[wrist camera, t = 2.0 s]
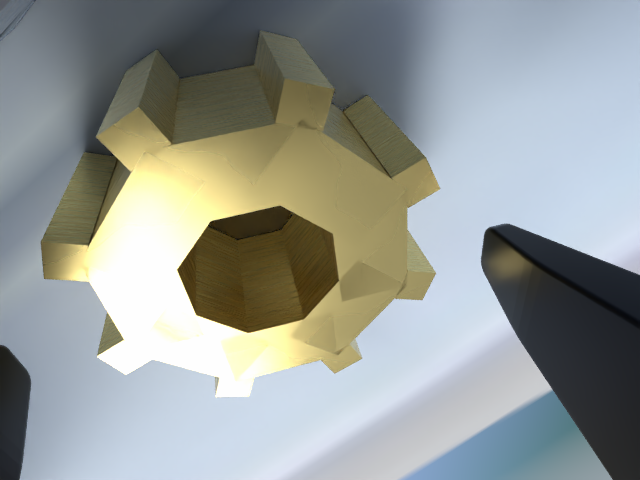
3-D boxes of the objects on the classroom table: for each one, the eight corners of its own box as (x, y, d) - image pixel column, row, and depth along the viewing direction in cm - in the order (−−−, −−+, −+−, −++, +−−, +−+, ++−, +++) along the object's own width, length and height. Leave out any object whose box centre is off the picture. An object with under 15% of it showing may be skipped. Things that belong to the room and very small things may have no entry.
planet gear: (386, 263, 14) (432, 347, 11) (154, 319, 13) (142, 424, 11) (376, 8, 10) (447, 47, 7) (27, 72, 9) (-49, 143, 6)
